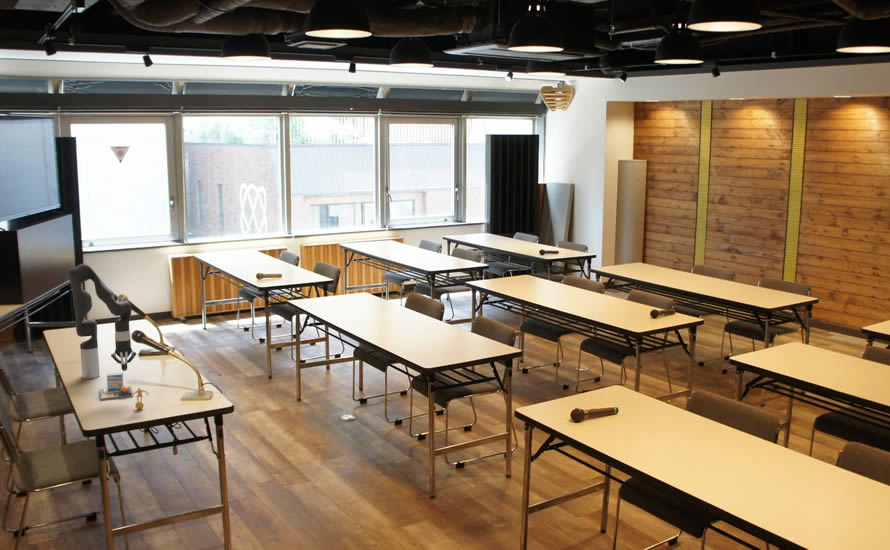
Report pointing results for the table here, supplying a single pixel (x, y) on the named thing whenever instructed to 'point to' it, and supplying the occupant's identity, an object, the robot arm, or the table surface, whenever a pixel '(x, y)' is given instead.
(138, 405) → the figurine
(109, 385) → the medicine box
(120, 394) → the activity board
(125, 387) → the button
